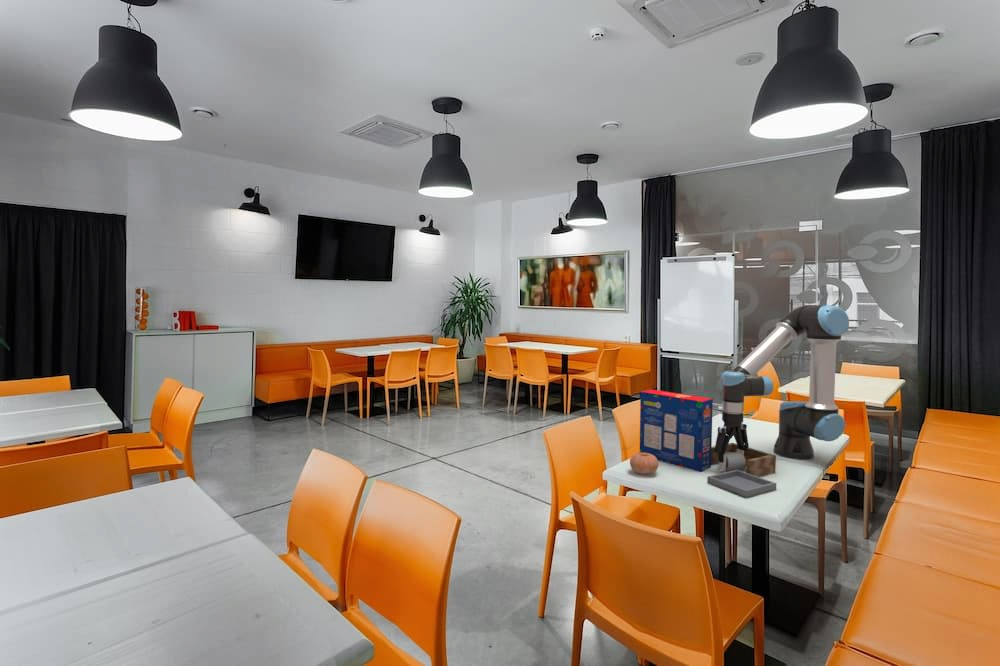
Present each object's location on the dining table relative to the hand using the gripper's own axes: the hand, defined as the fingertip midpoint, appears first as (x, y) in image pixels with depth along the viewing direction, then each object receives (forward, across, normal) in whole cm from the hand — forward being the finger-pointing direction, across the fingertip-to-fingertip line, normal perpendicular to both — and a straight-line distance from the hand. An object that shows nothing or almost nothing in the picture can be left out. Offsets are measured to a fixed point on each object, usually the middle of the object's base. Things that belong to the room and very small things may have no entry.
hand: (731, 468), depth 200 cm
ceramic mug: (+1, 0, -1) cm, 2 cm away
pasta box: (+1, +11, -19) cm, 22 cm away
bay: (+1, -5, 0) cm, 6 cm away
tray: (+1, +11, +13) cm, 17 cm away
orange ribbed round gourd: (+1, +32, -14) cm, 35 cm away
